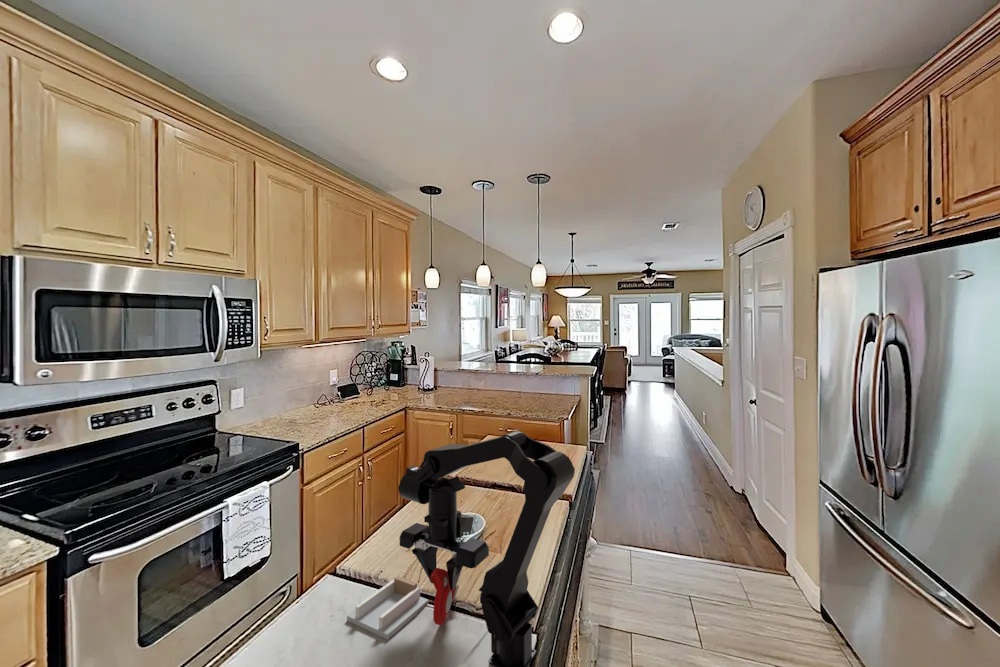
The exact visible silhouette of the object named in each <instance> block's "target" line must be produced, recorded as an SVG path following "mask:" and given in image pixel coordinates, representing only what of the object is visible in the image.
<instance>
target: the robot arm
mask: <svg viewBox="0 0 1000 667" xmlns="http://www.w3.org/2000/svg"><path fill="white" fill-rule="evenodd" d="M499 459H506V460H507V461H508V462H509V464H510V466H511V468H512V469H513V471H514V473H515V474H516V476H518V477H519V478H520V479H522V480H523V485H522V486H523V487H522V488H523V492H524V494H523V495H524V499H525V500H524V503H523V506H522V509H521V511H520V514H519V516H518V520H517V521H516V525H515V527H514V530H513V533H512V535H511V538H510V540H509V543H508V547H507V549H506V551H505V554H504V556H503V559H502V560H500V561H499V562H498V563H496V564H495V565H494V566H492V567H491V568H490V569H488V570H487V571H485V574H484V577H483V582H482V585H481V587H479V589H478V591H479V592H480V597H479V602H480V604H481V609H482V613H483V616H484V620H485V621H484V622H485V624H486V629H487V631H488V633H489V634H490V638H491V639H490V640H491V642H490V643H491V644H490V645H491V646H490V648H491V650H490V651H491V653H492V655H491V656H490V657H489V658H488V664H489V665H491V666H494V667H529V665H530V663H531V662H532V661H533V659H534V658H535V656H536V653H537V650H536V649H535V648H533V640H532V639H533V635H532V634H533V633H532V632H533V626H532V623H530V622H531V621H532V620H533V619H534V618H535V617H536V616H537V613H538V610H539V607H538V605H537V602H535V600H534V599H533V597H532V595H531V594H530V592H529V591H528V587H529V577H528V573H527V571H528V569H529V567H530V563H531V561H532V559H533V557H534V554H535V552H536V549H537V545H538V544H539V540H540V539H541V536H542V533H543V530H544V528H545V526H546V522H547V520H548V517H549V515H550V512H551V510H552V507H553V506H554V505H555V504H556V502H558V500H559V498H561V496H562V495H563V494H564V493H565V491H566V489H567V488H568V487H569V485H570V484H571V482H572V481H573V478H574V477H575V466H574V464H573V462H572V460H571V459H570V457H569V456H568V455H567V454H565V453H563V452H561V451H557V450H555V449H554V448H553V447H551V446H550V445H549V444H545V443H543V442H540V441H538V440H536V439H533V438H531V437H530V436H528V434H526V433H525V432H522V431H519V430H515V431H512V432H509V433H507V434H503V435H501V436H496V437H494V438H491V439H490V438H489V439H486V440H482V441H479V442H475V443H471V444H461V443H457V444H455V443H452V444H451V443H449V444H446V445H443V446H439V447H436V448H434V449H430V450H427V451H426V452H424V455H423V459H422V462H421V464H420V465H419V467H417V466H414V465H411V466H408V467H407V468H406V469H405V474H404V475H403V476H402V477H401V479H400V481H399V485H398V487H397V488H398V493H399V495H400V497H401V498H403V499H406V500H408V501H412V502H415V503H418V504H421V505H426V504H428V514H427V515H425V516H424V517H423V518H424V523H427V524H428V525H426V524H423V523H418V522H416V523H414V524H412V525H410V526H408V527H407V528H406V529H404V530H402V531H401V533H400V535H399V547H402V548H405V549H408V550H409V549H412V547H413V546H414V548H413V549H412V551H411V553H412V554H413V555H415V557H416V558H417V560H418V562H419V564H420V565H421V566H422V568H423V570H424V572H425V574H426V577H427V579H429V582H430V583H431V584H433V582H432V580H431V577H430V576H431V574H432V572H433V571H434V570H435V568H437V553H438V549H440V550H444V551H447V552H452V557H451V558H450V559H449V560H447V561H446V562H445V564H446V571H447V572H448V579H449V585H450V589H451V590H452V591H453V590H454V589H455V587H456V586H457V585H458V582H459V578H460V577H461V576H460V575H461V573H462V570H463V567H465V568H468V569H475V568H476V567H478V566H479V565H480V564H481V563H482V562H483V561H484V560H485V559H487V558H488V557H489V556H490V553H489V544H488V543H487V542H486V541H484V540H480V539H476V538H471V537H470V538H469V539H468V540H467V541H461V542H460V541H458V539H461V538H462V537H464V533H469V534H471V533H472V530H473V525H474V518H475V517H474V516H471V515H468V514H467V515H466V514H463V513H462V512H461V511H460V510H458V506H457V504H458V503H457V502H458V500H457V496H458V492H460V491H463V490H465V488H466V485H465V484H464V483H463V482H462V481H461V480H460V479H459V477H458V476H455V477H453V478H447V476H449V475H451V474H454V473H456V472H459V471H460V470H462V469H464V468H466V467H468V466H472V465H476V464H481V463H487V462H490V461H494V460H499Z"/></svg>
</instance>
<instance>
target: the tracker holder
mask: <svg viewBox="0 0 1000 667" xmlns="http://www.w3.org/2000/svg"><path fill="white" fill-rule="evenodd" d="M430 577H431V580H432V582H433V583H432V584H433V586H434V588H435V590H436V591H435V596H434V602H433V621H434V624H435V625H438V626H442V625H443V624H444V623H445V621H446V619H447V616H448V615H449V613H450V611H451V608H452V603H453V602H454V601H456V598H457V594H458V590H459V588H460V587H459V586H460V585H459V584H457V585H456V587H455V589H454V590H453V591H452V590H451V589H450V585H449V579H448V572H447V569H442V568H439V567H436V568H435V570H434V571H433V572H432V574H431V576H430Z"/></svg>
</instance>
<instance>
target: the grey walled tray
mask: <svg viewBox="0 0 1000 667" xmlns="http://www.w3.org/2000/svg"><path fill="white" fill-rule="evenodd" d="M393 578H394V579H392V580H391V581H389V582H388V583H386V584H385V585H384V586H382V587H380V588H379V589H377V591H375V592H373V593H372V594H371V595H369V596H368V597H367V598H365V599H364V600H362V601H361V602H359V603H358V604H356V605H355V609H354V610H353V611H351V612H350V613H349V614H347V616H346V621H347V622H349V623H351V624H353V625H355V626H357V627H359V628H361V629H364V630H366V631H368V632H370V633H372V634H373V635H374V634H375V635H376V636H379V637H381V638H382V639H385V640H387V641H389V639H390V638H392V637H393V636H394V635H395V634H396V633H397V632H398V631H400V630H401V629H402V628H403V627H404V626H406V625H407V624H408V623H410V621H411V620H413V618H415V617H416V616H417V615H418V614H419V613H420V612H421V611H422V610H423V609H424V608H425V607H426V606H427V605H428V604H429V599H427V598H425V597H422V596H421V588H420V587H418V583H417V582H415V581H413V580H409V579H406V578H404V577H401V576H399V575H397V576H395V577H393Z"/></svg>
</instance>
